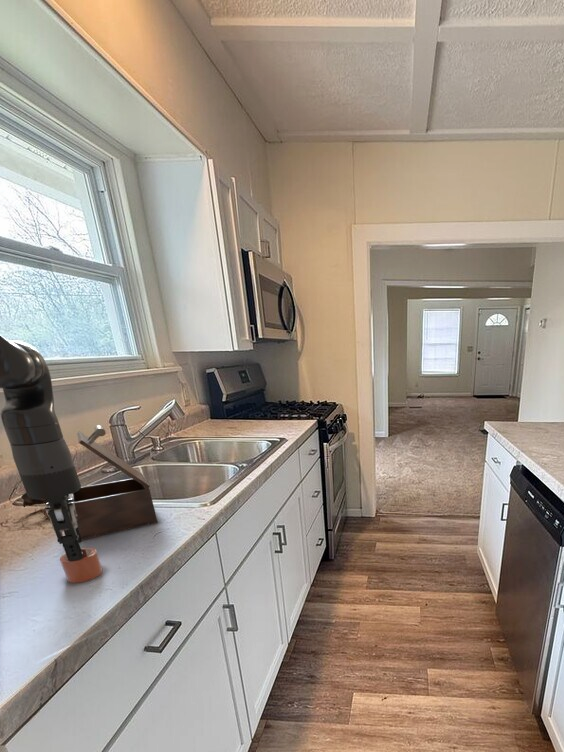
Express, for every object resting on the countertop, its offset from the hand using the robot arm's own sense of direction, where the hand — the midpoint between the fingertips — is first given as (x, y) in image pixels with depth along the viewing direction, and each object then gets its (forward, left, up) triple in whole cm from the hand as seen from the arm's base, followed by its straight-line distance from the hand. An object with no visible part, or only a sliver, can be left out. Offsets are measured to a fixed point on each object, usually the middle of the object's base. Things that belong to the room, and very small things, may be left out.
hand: (76, 550), depth 74 cm
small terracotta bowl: (0, 0, -5) cm, 5 cm away
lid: (+18, +21, +10) cm, 29 cm away
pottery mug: (+11, +44, -6) cm, 46 cm away
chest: (+16, +21, -5) cm, 27 cm away
